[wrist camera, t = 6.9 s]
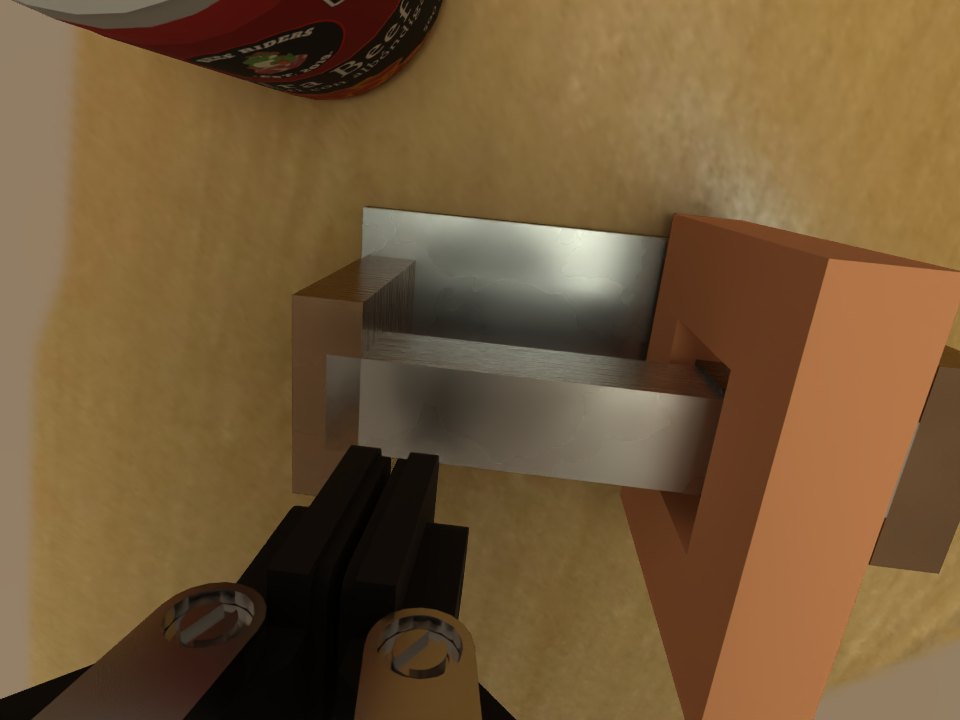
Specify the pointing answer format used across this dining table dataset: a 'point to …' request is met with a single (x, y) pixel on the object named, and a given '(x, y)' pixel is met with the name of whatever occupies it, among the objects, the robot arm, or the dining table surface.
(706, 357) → the collar
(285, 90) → the canned food
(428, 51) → the dining table surface
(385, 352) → the stand
